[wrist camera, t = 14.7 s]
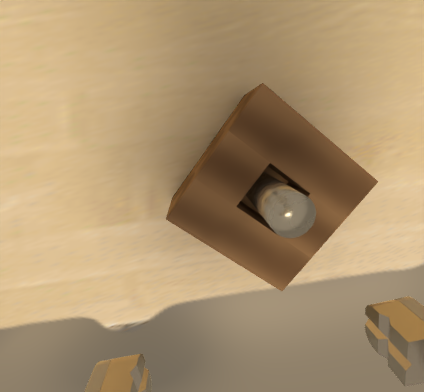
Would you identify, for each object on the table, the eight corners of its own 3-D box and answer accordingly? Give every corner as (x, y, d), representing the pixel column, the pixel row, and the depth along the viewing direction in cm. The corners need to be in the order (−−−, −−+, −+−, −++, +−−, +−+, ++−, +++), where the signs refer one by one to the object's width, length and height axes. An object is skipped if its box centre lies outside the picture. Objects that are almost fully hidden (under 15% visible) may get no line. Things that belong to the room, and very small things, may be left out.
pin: (256, 165, 30) (290, 183, 19) (280, 183, 31) (325, 210, 20) (237, 190, 31) (259, 222, 20) (260, 207, 32) (294, 246, 21)
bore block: (244, 95, 30) (262, 83, 22) (335, 169, 33) (378, 181, 25) (172, 197, 32) (165, 219, 25) (262, 256, 36) (281, 291, 28)
